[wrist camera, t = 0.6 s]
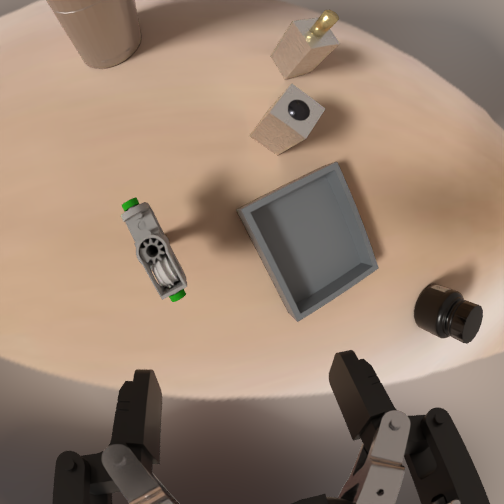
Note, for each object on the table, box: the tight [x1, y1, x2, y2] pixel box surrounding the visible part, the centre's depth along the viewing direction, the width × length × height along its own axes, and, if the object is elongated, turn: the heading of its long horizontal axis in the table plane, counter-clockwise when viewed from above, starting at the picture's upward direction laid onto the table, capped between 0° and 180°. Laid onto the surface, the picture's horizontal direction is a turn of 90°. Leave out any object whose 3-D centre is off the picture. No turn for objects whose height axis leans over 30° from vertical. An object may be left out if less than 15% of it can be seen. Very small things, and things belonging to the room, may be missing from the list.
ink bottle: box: [414, 284, 483, 344], centre depth 40 cm, size 10×9×12 cm
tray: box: [236, 162, 378, 322], centre depth 36 cm, size 16×14×4 cm
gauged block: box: [270, 10, 340, 80], centre depth 27 cm, size 4×4×14 cm
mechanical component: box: [121, 198, 187, 302], centre depth 29 cm, size 3×10×10 cm, turn 26°
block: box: [249, 84, 325, 155], centre depth 30 cm, size 4×4×10 cm
